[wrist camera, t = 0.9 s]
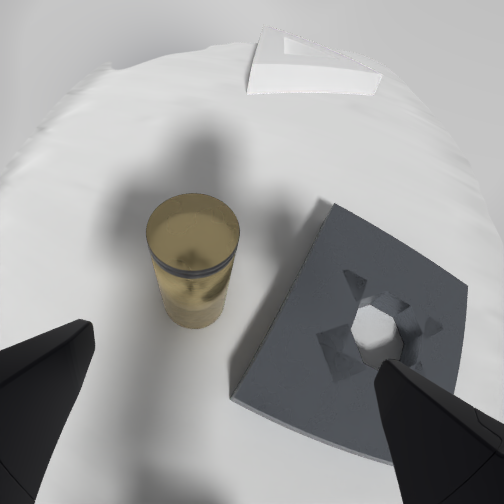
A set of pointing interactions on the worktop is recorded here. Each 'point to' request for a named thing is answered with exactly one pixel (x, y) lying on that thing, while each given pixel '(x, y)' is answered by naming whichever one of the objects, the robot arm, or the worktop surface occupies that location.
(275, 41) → the triangle block
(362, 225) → the grey octagonal hole plate
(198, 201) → the cylinder
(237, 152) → the worktop surface
